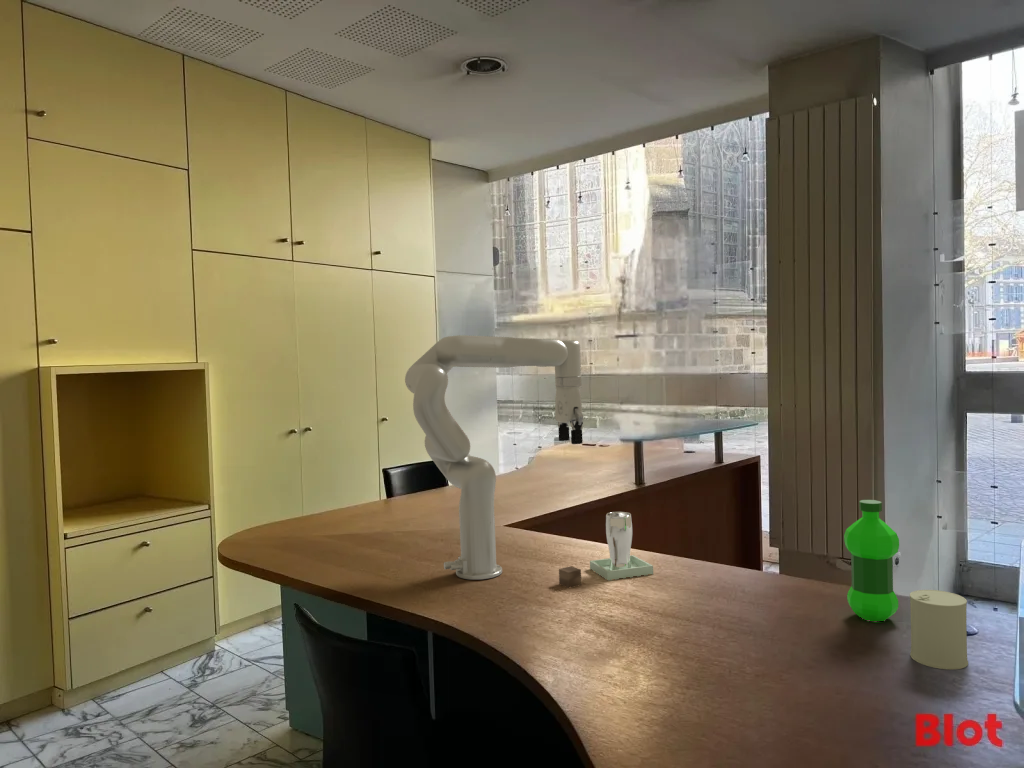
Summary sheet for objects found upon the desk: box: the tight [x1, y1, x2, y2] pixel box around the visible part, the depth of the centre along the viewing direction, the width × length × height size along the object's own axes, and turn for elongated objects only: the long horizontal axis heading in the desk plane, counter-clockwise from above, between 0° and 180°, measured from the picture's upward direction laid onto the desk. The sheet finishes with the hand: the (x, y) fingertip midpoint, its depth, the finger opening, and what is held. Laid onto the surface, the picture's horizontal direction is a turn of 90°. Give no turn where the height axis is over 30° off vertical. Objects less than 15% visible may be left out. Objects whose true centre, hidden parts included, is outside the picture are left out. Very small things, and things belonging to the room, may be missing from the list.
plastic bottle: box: [843, 499, 900, 622], centre depth 156 cm, size 10×10×25 cm
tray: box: [589, 554, 654, 581], centre depth 196 cm, size 13×11×2 cm
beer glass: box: [605, 511, 633, 571], centre depth 196 cm, size 7×7×15 cm
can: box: [909, 589, 969, 671], centre depth 135 cm, size 9×9×12 cm
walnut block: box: [558, 565, 582, 589], centre depth 187 cm, size 4×4×4 cm
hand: (570, 442), depth 212 cm, fingers open, 9 cm apart
